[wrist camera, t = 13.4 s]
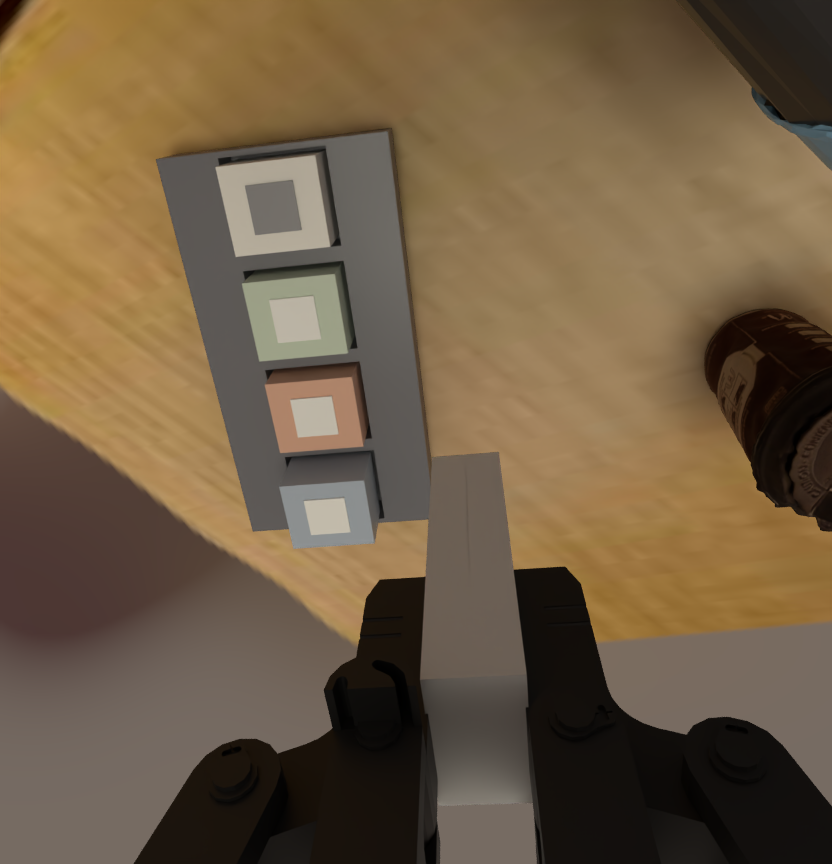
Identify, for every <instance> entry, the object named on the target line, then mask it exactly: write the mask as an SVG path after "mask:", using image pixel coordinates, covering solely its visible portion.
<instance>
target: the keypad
mask: <svg viewBox="0 0 832 864" xmlns="http://www.w3.org/2000/svg"><path fill="white" fill-rule="evenodd" d="M323 149H326V152H327V158H328V165H329V171H330V177H331V184H332V190H333V196H334V202H335V209H336V215H337V221H338V228H339V234H340V235H339V236H338V237H337V239H336V240H335V241H334V243H333V244H332V245H331V247H324V248H315V249H305V250H296V251H287V252H277V253H268V254H259V255H249V256H240V257H236V256H235V252H234V247H233V243H232V238H231V234H230V229H229V225H228V221H227V216H226V212H225V207H224V203H223V199H222V194H221V190H220V185H219V181H218V177H217V172H216V168H215V167H217V166H220V165H223V164H226V163H229V162H231V161H234V160H240V159H248V158H257V157H265V156H273V155H281V154H290V153H298V152H306V151H315V150H323ZM156 162H157V166H158V169H159V173H160V177H161V181H162V185H163V189H164V192H165V196H166V200H167V204H168V208H169V212H170V215H171V219H172V223H173V227H174V231H175V235H176V238H177V242H178V246H179V250H180V254H181V258H182V261H183V265H184V269H185V273H186V277H187V281H188V284H189V288H190V292H191V296H192V300H193V304H194V307H195V311H196V315H197V319H198V323H199V327H200V330H201V334H202V338H203V342H204V346H205V350H206V353H207V357H208V361H209V365H210V369H211V373H212V376H213V380H214V384H215V388H216V392H217V396H218V399H219V403H220V407H221V411H222V415H223V419H224V422H225V426H226V430H227V434H228V438H229V442H230V445H231V449H232V453H233V457H234V461H235V465H236V468H237V472H238V476H239V480H240V484H241V488H242V491H243V495H244V499H245V503H246V507H247V511H248V514H249V518H250V522H251V526H252V530H253V531H266V530H281V529H289V527H288V523H287V518H286V514H285V510H284V505H283V501H282V497H281V492H280V488H279V486H280V484H281V481H282V479H283V477H284V474H285V472H286V470H287V467H288V465H289V463H290V460H291V458H292V457H300V456H312V455H325V454H338V453H350V452H363V451H371V457H372V463H373V469H374V475H375V482H376V488H377V494H378V500H379V506H380V514H379V520H378V523H382V522H396V521H411V520H425V519H429V505H430V487H431V469H432V464H431V455H430V447H429V438H428V430H427V422H426V413H425V405H424V396H423V388H422V379H421V371H420V362H419V354H418V346H417V337H416V329H415V320H414V312H413V303H412V295H411V287H410V278H409V270H408V261H407V253H406V244H405V236H404V227H403V219H402V211H401V202H400V194H399V185H398V177H397V168H396V160H395V152H394V143H393V135H392V128H389V129H381V130H373V131H365V132H356V133H348V134H340V135H332V136H324V137H315V138H307V139H299V140H291V141H283V142H274V143H266V144H258V145H250V146H242V147H233V148H225V149H217V150H209V151H201V152H192V153H184V154H176V155H171V156H167V157H163V158H159V159H156ZM336 261H344V265H345V272H346V278H347V284H348V291H349V297H350V303H351V310H352V316H353V322H354V328H355V337H354V339H353V342H352V344H351V347H350V349H349V352H348V353H347V354H336V355H325V356H314V357H303V358H292V359H282V360H271V361H260V362H259V357H258V353H257V349H256V344H255V340H254V335H253V331H252V327H251V322H250V318H249V313H248V309H247V305H246V300H245V296H244V291H243V287H242V283H243V282H244V281H245V280H246V279H247V278H248V277H249V276H250V275H251V274H252V273H253V272H254V271H255V270H260V269H270V268H279V267H289V266H298V265H308V264H317V263H327V262H336ZM359 361H360V366H361V372H362V379H363V385H364V391H365V398H366V404H367V410H368V417H369V426H368V430H367V434H366V438H365V442H364V446H363V447H351V448H339V449H326V450H314V451H301V452H289V453H280V450H279V446H278V441H277V437H276V432H275V428H274V424H273V419H272V415H271V410H270V406H269V402H268V397H267V393H266V388H265V383H266V382H267V380H268V379H269V377H270V375H271V374H272V372H273V371H274V369H282V368H293V367H304V366H315V365H326V364H337V363H348V362H359Z"/></svg>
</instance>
